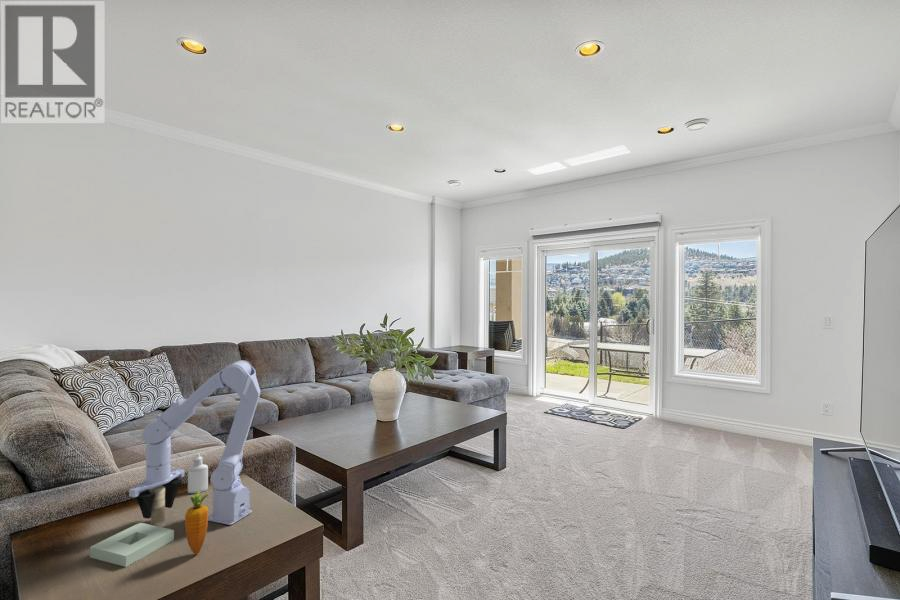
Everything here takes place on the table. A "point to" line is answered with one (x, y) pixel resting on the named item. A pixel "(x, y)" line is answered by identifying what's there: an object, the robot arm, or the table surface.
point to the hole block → (131, 544)
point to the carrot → (196, 523)
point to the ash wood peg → (158, 506)
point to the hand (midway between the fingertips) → (158, 512)
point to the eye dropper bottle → (198, 476)
